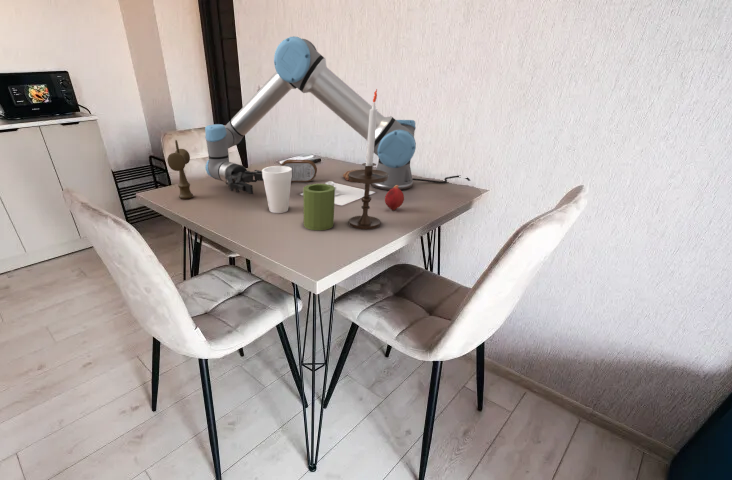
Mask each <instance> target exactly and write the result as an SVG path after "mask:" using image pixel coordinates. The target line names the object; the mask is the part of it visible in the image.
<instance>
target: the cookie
mask: <svg viewBox="0 0 732 480" xmlns="http://www.w3.org/2000/svg"><path fill="white" fill-rule="evenodd" d="M355 170H356V169H351V170H347V171H345V172H344V173H343V174H342V177H343V179H344V180H345V181H346V182H352V181H351V180H349V178H348V177H349V173H350V172H352V171H355Z"/></svg>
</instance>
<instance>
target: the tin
mask: <svg viewBox="0 0 732 480" xmlns="http://www.w3.org/2000/svg"><path fill="white" fill-rule="evenodd" d="M280 166H287V167H290V168H292V178H291V183H309V182H311V181H313V180H314V179H315V178H316V175H317V173H318V168H317V165H316V163H315V162H314V161H313V160H310V159H286V160H284V161H282V163H281V165H280Z"/></svg>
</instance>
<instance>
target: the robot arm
mask: <svg viewBox="0 0 732 480" xmlns="http://www.w3.org/2000/svg"><path fill="white" fill-rule="evenodd" d="M273 65H274V69H275V72H274V73H273V75H271V76H270V77H269V79H268V80H267V81H266V82H265V83H264V84H263V85H262V86H261V87H260V89H258V91H257V92H256V93H255V94H254V95H253V96H252V97H251V98H250V99H249V100H248V101H247V102H246V103H245V104H244V105H243V107H241V109H240V110H239V111H238V112H237V113H236V114H235V115H234V116H233V117H232V118H231V119H230V120H229V121H228V122H227V123H226V124H225V125H224V124H220V123H215V124H214V123H213V124H208V125H205V127H204V132H205V142H206V149H207V155H208V159H207V161H206V162H205V163H206V164H205V172H206V173H207V174H206V175H208V176H209V177H211V178H212V179H214V180H217V181H220V182H224V183H225V184H226V185H227V186H228V188H229V191H231V192H234V190H235V193H240V191H241V192H244V193H247V194H250V195H254V187H253V184H250V183H257V182H264V180H263V178H262V170H259V169H254V171H251V170H247V168H246V166H244V165H242V164H238V163H235V162H231V161H230V155H229V149H230V148H232V147H235V146H237V145H238V144H240V143H241V142H242V139H243V138H244V137H245V136H246V135H247V134H248V133H249V132H250V131H251V130H252V129H253V128H254V127H255V126H256V125H257V124H258V123H259V122H260V121H261V120H262V119H263V118H264V117H265V116H266V115H267V114H268V113H269V112H270V111H272V109H273V108H274V107H275V106H276V105H277V104H278V103H279V102H280V101H281V100H282V99H283V98H284V97H285V96H286V95H288V93H289V92H290V91H291V90H296V89H298V90H299V91H300V92H301V93H303V94H307V93H310V94H312V95H313V96H314V97H315V98H316V99H318V100H319V101H320V102H321V103H322V104H324V106H326V107H327V108H328V109H329V110H330V111H332V113H334V114H335V115H336V116H337V117H338V118H340V119H341V120H342V121H344V122H345V123H346V124H347V125H348V126H349V127H351V128H352V129H353V130H354V131H355V132H356V133H358V134H359V135H360V136H361V137H362V138H363V139H365V141H367V140H368V127H369V114H370V109H372V106H373V105H371V104H370V103H369V102H368V101H367V100H365V99H364V98H363V97H362V96H361V95H360V94H358V93H357V92H356V91H355V90H354V89H353V88H352V87H350V85H348V84H347V83H346V82H344V80H343V79H341V78H340V77H339V76H338V75H336V74H335V73H334V72H333V71H332V70H331V69H329V68H328V66H327V60H326V57H324V55H322V54H321V53H319V52H318V50H317V48H316V46H315V44H314V43H312V42H311V41H310V40H308V39H306V38H301V37H300V36H294V35H293V36H289V37H287V38H285V39H283V40H281V42H279V44H278V45H277V47H276V49H275V52H274V55H273ZM415 132H416V121H415V120H414V119H396V118H394V117H393V116H391V115H390V116H384V115H383V114H382V113H381V112H379V111H378V110H377V119H376V131H375V142H374V154H375V155H376V156H377V158H378V162H377V165H376V168H375V170H380V171H384V172H386V173H388V180H386V181H384V182H380V183H372V184H371V186H372V187H373V188H376V189H378V190H383V191H389V190H390V189H392V188H394V186H395V185H398V186H399V187H398V188H399V189H400V190H401V191H405V190H408V189H410V188H412V187H413V182H414V181H416V182H427V183H433V184H434V183H436V184H446V183H447V182H448V180H450V179H457V178H460V177H459V176H460V175H451V176H447V177H445V178H444V179H443V180H441V181H440V180H433V179H424V178H416V177H415V178H414V177H413V175H412V169H411V161H412V158H413V157H414V154H415V152H416V148H417V147H416V146H417V143H416V139H415ZM464 179H466V181H468V182H471V179H470V178H469V177H467V178H464Z"/></svg>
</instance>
